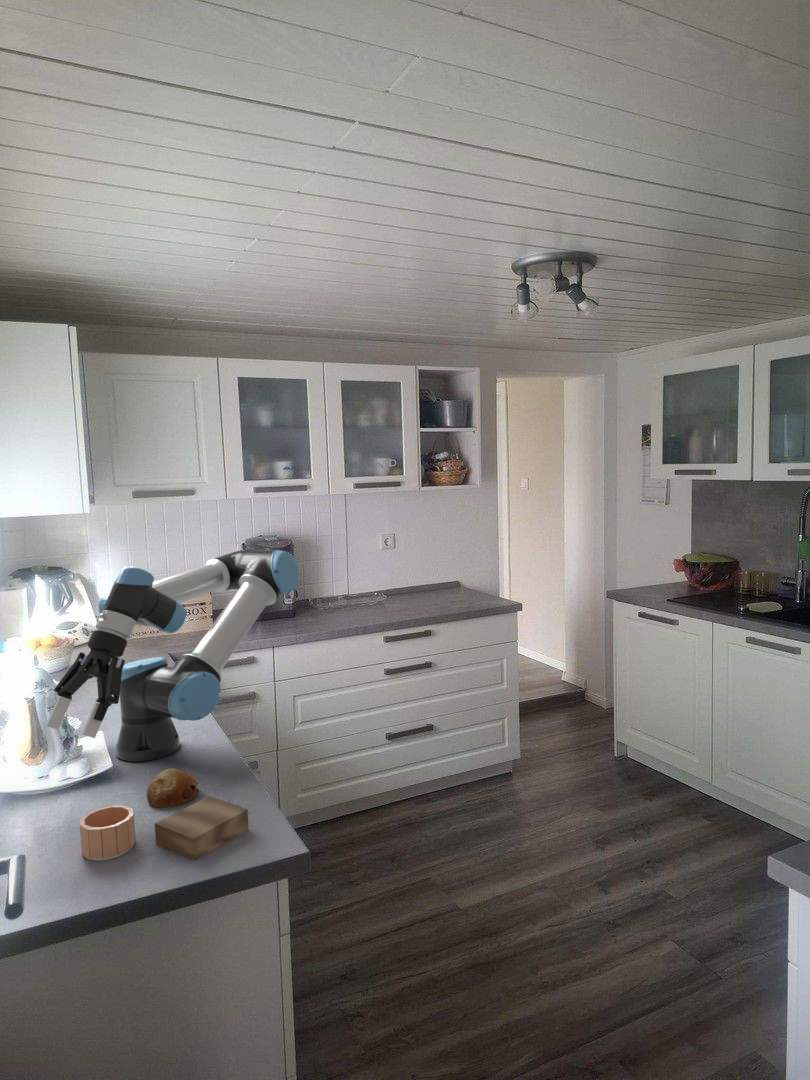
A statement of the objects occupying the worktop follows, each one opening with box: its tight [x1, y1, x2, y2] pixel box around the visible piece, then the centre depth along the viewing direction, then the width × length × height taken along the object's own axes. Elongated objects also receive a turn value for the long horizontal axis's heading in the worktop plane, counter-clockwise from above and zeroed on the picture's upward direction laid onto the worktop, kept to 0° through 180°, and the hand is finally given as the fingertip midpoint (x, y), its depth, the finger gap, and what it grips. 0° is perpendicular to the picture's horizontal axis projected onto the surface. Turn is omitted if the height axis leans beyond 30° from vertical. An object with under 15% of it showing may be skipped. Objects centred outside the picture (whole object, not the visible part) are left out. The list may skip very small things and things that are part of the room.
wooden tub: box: [79, 805, 137, 862], centre depth 133 cm, size 9×9×6 cm
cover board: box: [154, 795, 250, 861], centre depth 136 cm, size 13×11×4 cm
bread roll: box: [146, 768, 200, 809], centre depth 153 cm, size 10×10×8 cm
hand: (69, 732), depth 146 cm, fingers open, 13 cm apart
